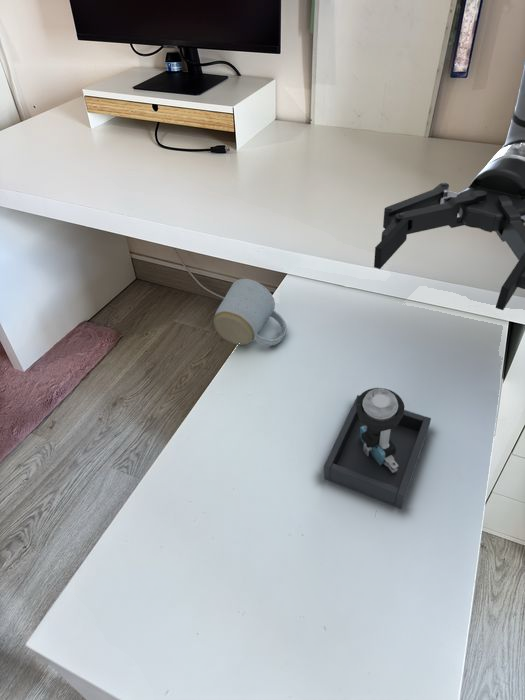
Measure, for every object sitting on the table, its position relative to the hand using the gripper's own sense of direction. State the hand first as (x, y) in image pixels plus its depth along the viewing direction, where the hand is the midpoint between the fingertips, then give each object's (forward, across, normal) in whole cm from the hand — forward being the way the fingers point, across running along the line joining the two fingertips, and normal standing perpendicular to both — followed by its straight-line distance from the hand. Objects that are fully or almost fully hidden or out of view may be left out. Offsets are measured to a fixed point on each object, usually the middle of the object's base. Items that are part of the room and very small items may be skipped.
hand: (435, 277), depth 53 cm
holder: (+10, 0, +22) cm, 24 cm away
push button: (+10, 0, +21) cm, 23 cm away
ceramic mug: (0, -27, +22) cm, 35 cm away
